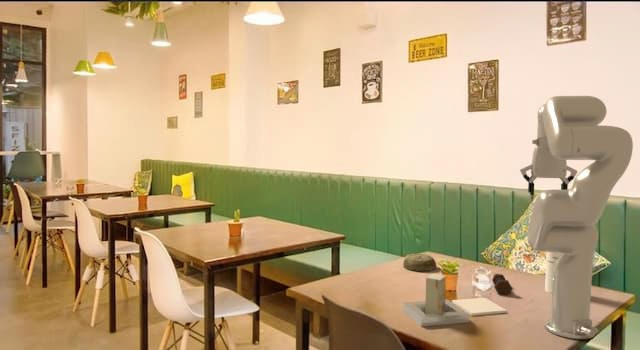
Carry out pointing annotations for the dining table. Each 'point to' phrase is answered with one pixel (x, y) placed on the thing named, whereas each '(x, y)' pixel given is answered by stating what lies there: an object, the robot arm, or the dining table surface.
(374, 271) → the dining table surface
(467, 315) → the socket block
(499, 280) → the dark brown dumbbell
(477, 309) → the tile
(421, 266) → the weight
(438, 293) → the grey upright block
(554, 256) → the cylindrical container
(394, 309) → the dining table surface
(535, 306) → the dining table surface
